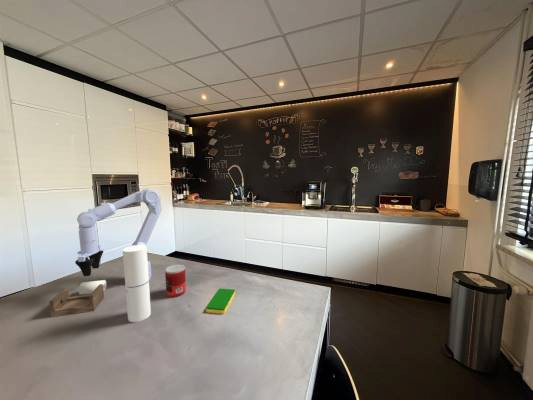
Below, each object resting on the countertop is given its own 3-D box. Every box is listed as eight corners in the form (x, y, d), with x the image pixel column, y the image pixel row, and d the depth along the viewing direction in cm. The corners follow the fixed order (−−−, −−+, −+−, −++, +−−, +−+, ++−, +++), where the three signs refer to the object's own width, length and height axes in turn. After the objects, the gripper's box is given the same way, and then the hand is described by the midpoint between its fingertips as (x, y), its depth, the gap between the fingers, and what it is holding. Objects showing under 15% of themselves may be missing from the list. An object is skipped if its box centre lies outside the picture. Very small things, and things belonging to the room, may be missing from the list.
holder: (104, 297, 91) (102, 283, 90) (94, 310, 82) (92, 295, 81) (65, 303, 87) (64, 288, 86) (50, 317, 78) (49, 301, 78)
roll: (107, 288, 98) (106, 277, 98) (102, 294, 93) (101, 283, 93) (85, 291, 96) (84, 280, 95) (79, 297, 91) (78, 285, 90)
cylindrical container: (140, 323, 75) (135, 252, 72) (122, 320, 76) (117, 250, 73) (155, 310, 82) (151, 245, 79) (138, 308, 83) (134, 244, 80)
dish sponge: (206, 313, 81) (205, 307, 81) (219, 293, 95) (219, 288, 94) (224, 315, 80) (224, 308, 80) (235, 294, 94) (235, 289, 93)
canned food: (189, 288, 98) (188, 264, 97) (180, 298, 90) (179, 272, 89) (172, 287, 99) (171, 263, 98) (162, 297, 91) (161, 271, 90)
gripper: (85, 236, 98) (88, 266, 99) (67, 247, 84) (70, 280, 85) (104, 235, 100) (107, 264, 101) (89, 245, 86) (92, 278, 87)
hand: (91, 271), depth 93 cm, fingers open, 7 cm apart
